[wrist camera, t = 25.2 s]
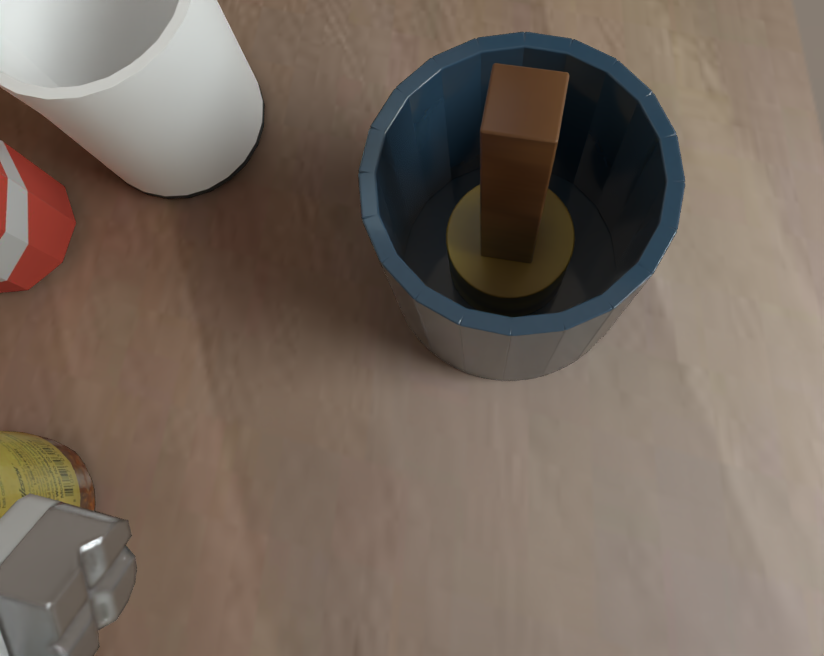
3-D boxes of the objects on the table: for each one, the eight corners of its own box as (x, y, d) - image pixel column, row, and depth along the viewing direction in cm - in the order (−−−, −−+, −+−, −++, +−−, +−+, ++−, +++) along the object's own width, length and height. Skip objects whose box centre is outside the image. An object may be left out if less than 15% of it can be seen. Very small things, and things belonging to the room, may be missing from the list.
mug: (284, 191, 36) (207, 73, 26) (101, 224, 36) (-45, 120, 26) (260, -11, 38) (181, -192, 28) (89, 22, 38) (-49, -144, 28)
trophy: (573, 217, 33) (637, 26, 20) (555, 327, 32) (609, 207, 19) (460, 200, 34) (446, 3, 20) (439, 307, 33) (410, 177, 19)
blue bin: (642, 181, 34) (707, 58, 24) (602, 403, 32) (654, 365, 22) (421, 143, 35) (398, 11, 26) (370, 354, 34) (324, 297, 24)
